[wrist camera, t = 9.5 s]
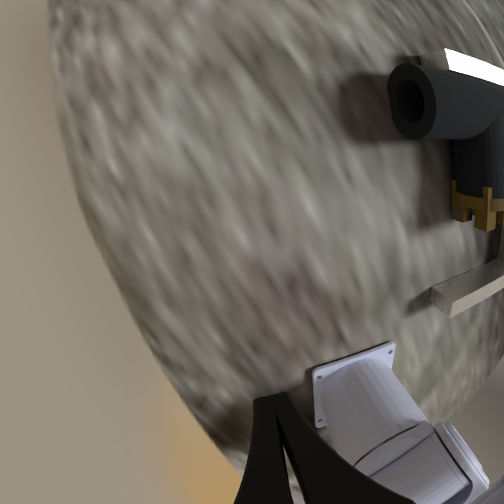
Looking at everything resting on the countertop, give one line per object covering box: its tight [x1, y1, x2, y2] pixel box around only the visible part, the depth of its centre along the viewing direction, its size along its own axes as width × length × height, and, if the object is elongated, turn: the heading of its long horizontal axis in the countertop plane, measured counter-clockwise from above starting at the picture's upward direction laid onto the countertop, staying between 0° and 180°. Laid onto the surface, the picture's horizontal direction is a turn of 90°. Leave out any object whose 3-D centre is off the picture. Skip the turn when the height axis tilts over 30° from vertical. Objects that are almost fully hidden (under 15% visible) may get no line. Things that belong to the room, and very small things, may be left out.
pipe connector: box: [387, 63, 504, 232], centre depth 15 cm, size 12×5×15 cm
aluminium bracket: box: [419, 49, 504, 318], centre depth 17 cm, size 21×13×3 cm, turn 10°
